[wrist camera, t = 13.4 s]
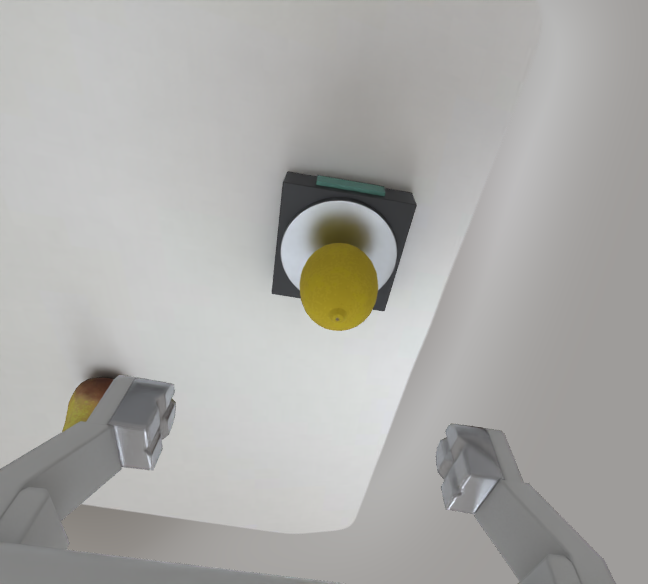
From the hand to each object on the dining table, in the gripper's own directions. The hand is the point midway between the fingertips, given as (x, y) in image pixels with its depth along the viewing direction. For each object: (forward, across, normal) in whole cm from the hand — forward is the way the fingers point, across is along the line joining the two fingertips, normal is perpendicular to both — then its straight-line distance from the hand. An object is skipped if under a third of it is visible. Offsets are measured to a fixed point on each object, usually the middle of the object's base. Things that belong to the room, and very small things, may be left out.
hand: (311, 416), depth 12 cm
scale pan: (+21, -1, +5) cm, 21 cm away
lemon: (+20, -2, +6) cm, 21 cm away
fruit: (+23, +21, +28) cm, 42 cm away
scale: (+23, -2, +6) cm, 24 cm away
